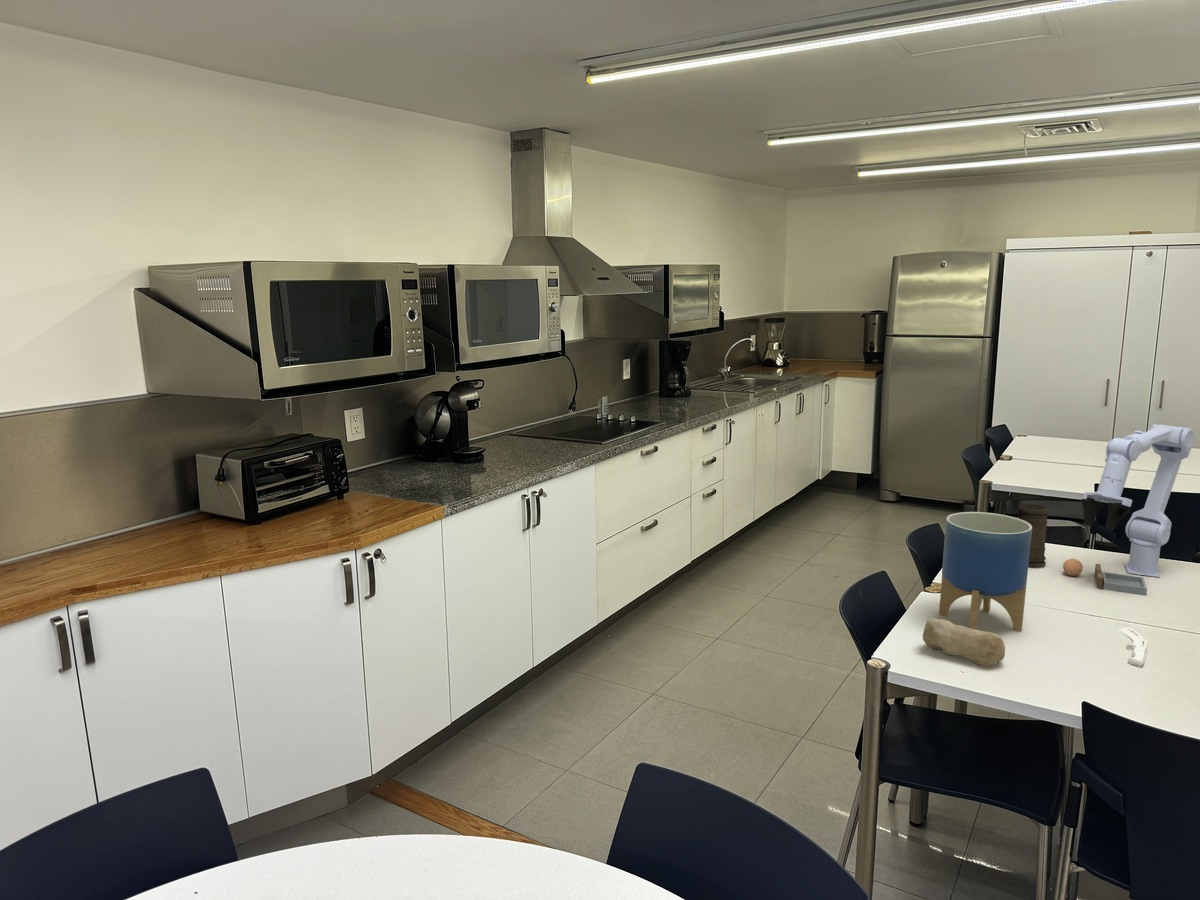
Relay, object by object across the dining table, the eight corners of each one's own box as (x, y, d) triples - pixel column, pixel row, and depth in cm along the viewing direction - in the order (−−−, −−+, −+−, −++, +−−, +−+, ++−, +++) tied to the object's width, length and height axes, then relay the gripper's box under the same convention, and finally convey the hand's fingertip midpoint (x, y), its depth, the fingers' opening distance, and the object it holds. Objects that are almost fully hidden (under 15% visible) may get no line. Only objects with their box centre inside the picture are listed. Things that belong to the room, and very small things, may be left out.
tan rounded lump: (934, 625, 197) (926, 605, 191) (1011, 643, 186) (1005, 622, 180) (923, 657, 193) (915, 637, 187) (1002, 677, 183) (996, 656, 176)
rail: (1094, 573, 241) (1095, 563, 241) (1099, 573, 241) (1100, 564, 240) (1096, 588, 229) (1098, 578, 229) (1101, 589, 229) (1103, 579, 228)
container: (1050, 568, 246) (1056, 510, 242) (1020, 568, 246) (1026, 510, 243) (1035, 558, 255) (1041, 502, 251) (1006, 558, 255) (1011, 502, 251)
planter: (948, 602, 220) (955, 507, 215) (1027, 618, 209) (1037, 519, 204) (930, 626, 204) (937, 525, 199) (1014, 645, 193) (1025, 538, 188)
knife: (1114, 615, 210) (1151, 621, 205) (1114, 621, 210) (1150, 628, 205) (1103, 652, 186) (1144, 661, 181) (1102, 659, 186) (1143, 668, 181)
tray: (1101, 578, 237) (1102, 571, 237) (1142, 584, 233) (1143, 577, 232) (1103, 589, 229) (1104, 582, 228) (1146, 595, 224) (1147, 588, 224)
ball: (1062, 571, 243) (1063, 555, 242) (1081, 574, 241) (1083, 557, 240) (1062, 576, 239) (1064, 560, 238) (1082, 579, 236) (1083, 562, 236)
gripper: (1081, 474, 232) (1066, 519, 232) (1122, 479, 218) (1107, 527, 218) (1101, 481, 233) (1086, 526, 233) (1143, 486, 219) (1128, 534, 219)
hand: (1098, 527), depth 226 cm, fingers open, 7 cm apart
